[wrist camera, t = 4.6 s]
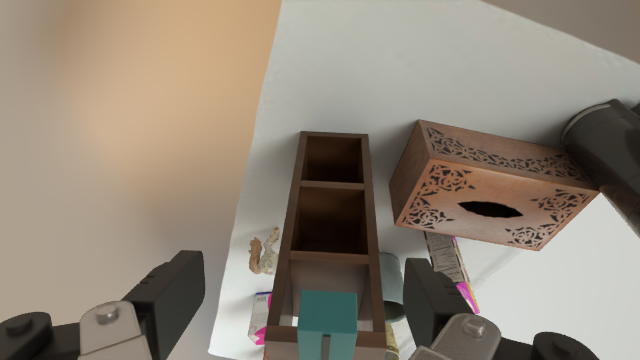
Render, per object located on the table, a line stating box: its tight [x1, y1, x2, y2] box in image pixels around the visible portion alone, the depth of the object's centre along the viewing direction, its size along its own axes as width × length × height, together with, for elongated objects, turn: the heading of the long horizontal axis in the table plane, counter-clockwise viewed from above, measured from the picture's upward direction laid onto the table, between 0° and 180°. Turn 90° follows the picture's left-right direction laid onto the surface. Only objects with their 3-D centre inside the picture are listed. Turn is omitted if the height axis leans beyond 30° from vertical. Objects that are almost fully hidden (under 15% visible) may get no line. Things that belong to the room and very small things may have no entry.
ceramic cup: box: [383, 323, 400, 360], centre depth 93 cm, size 13×10×10 cm
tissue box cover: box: [389, 119, 601, 251], centre depth 56 cm, size 26×14×10 cm, turn 79°
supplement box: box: [248, 292, 272, 345], centre depth 88 cm, size 6×6×12 cm
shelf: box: [264, 131, 387, 360], centre depth 48 cm, size 13×11×34 cm
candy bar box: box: [424, 231, 480, 314], centre depth 64 cm, size 11×5×16 cm, turn 28°
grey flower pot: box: [379, 253, 406, 323], centre depth 75 cm, size 10×10×12 cm
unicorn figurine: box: [249, 228, 279, 275], centre depth 69 cm, size 7×20×13 cm, turn 114°
